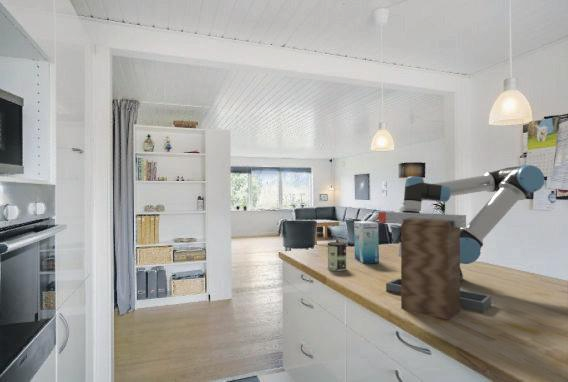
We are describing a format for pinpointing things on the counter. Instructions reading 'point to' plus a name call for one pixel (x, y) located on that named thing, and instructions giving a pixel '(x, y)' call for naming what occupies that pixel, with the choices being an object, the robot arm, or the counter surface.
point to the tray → (466, 298)
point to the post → (430, 267)
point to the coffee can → (337, 256)
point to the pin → (422, 218)
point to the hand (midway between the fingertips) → (407, 258)
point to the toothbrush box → (366, 241)
